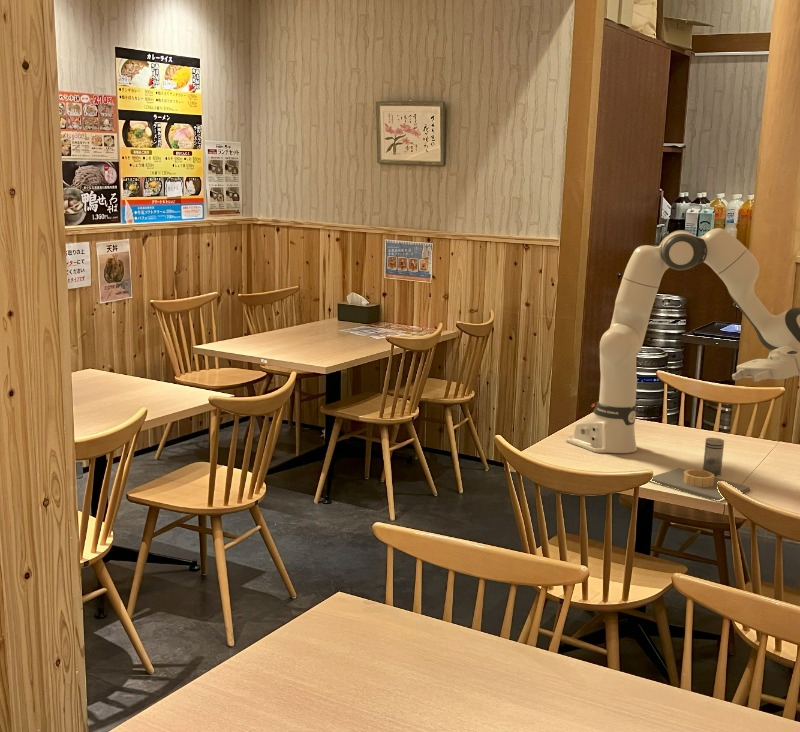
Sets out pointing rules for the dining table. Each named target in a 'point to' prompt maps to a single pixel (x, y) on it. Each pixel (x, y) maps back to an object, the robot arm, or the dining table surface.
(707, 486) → the collar plate
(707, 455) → the piston
